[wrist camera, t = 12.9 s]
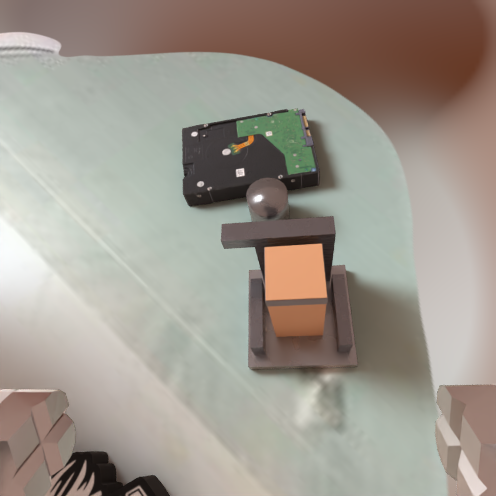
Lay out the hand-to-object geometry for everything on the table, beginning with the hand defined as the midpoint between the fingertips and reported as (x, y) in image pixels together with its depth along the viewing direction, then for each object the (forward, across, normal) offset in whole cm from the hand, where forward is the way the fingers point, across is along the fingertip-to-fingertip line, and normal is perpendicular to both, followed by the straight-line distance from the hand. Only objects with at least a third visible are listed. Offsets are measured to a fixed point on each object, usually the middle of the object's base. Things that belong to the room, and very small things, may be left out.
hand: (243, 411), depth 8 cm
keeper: (+25, -1, +10) cm, 27 cm away
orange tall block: (+24, -1, +10) cm, 26 cm away
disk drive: (+39, +3, -2) cm, 39 cm away
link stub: (+33, +1, +2) cm, 33 cm away
